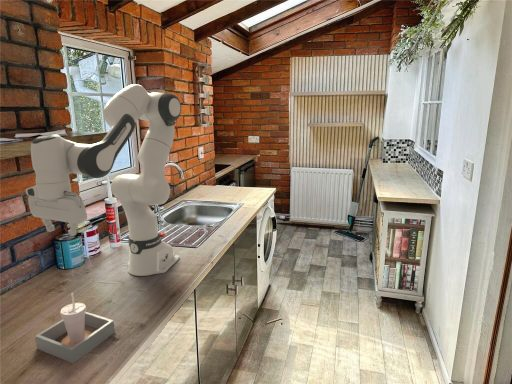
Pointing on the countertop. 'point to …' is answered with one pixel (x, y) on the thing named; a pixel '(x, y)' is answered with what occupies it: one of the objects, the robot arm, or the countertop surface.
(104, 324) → the grey open tray
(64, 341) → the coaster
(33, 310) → the countertop surface
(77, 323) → the smoothie
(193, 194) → the countertop surface
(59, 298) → the countertop surface
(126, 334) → the countertop surface
